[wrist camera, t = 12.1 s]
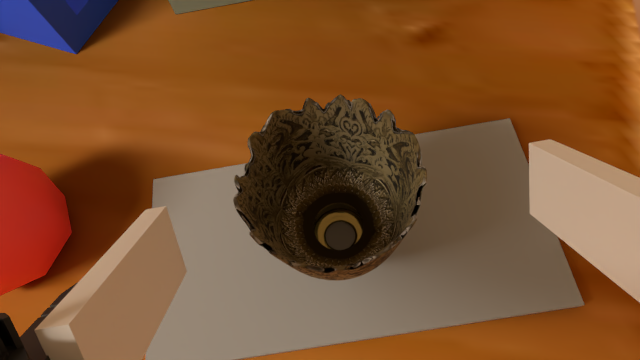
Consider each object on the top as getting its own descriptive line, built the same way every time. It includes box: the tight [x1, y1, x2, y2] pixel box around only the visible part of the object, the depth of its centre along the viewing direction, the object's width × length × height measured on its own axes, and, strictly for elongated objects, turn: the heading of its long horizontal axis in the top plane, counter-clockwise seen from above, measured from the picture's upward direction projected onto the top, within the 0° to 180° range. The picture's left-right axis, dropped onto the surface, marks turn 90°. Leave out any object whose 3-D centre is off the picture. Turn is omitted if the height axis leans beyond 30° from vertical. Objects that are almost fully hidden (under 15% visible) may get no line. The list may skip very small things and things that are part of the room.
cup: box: [233, 95, 427, 281], centre depth 20 cm, size 8×7×8 cm
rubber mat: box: [146, 118, 585, 360], centre depth 24 cm, size 22×11×1 cm, turn 98°
